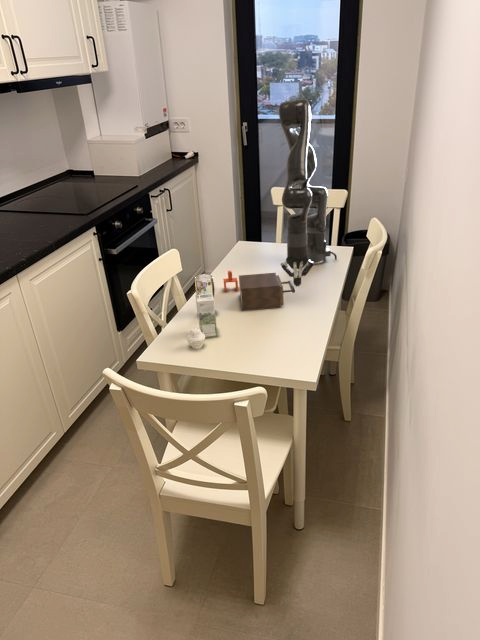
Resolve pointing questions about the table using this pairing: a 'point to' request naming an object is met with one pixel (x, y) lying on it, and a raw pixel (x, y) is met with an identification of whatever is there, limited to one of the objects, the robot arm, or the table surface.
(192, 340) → the muffin
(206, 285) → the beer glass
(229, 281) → the orange angular part
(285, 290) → the drawer
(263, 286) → the cabinet
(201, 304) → the syrup box
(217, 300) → the table surface
